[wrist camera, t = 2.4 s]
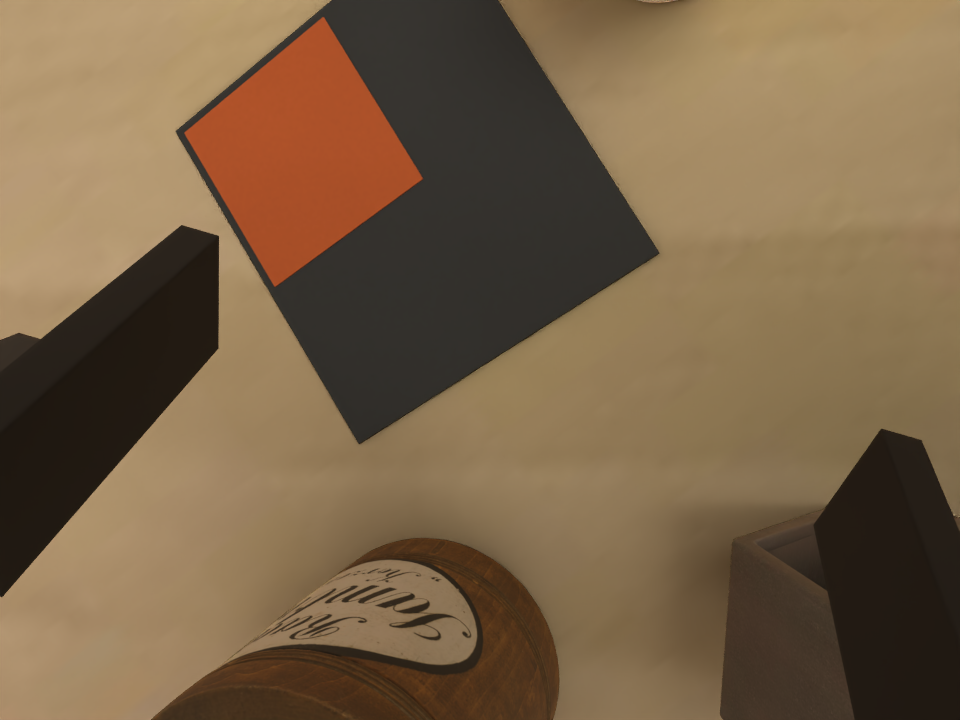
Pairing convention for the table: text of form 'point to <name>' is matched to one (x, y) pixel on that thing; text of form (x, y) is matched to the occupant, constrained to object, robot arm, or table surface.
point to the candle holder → (656, 1)
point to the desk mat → (411, 196)
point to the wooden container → (393, 647)
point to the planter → (782, 630)
